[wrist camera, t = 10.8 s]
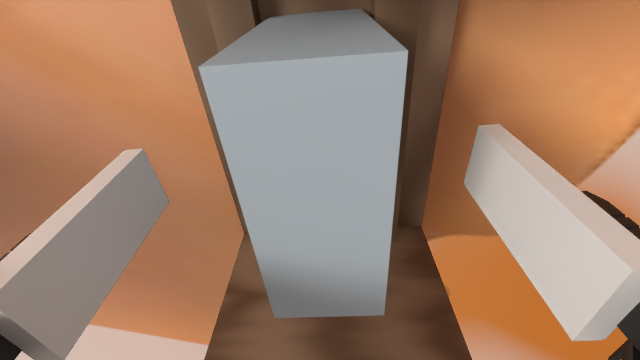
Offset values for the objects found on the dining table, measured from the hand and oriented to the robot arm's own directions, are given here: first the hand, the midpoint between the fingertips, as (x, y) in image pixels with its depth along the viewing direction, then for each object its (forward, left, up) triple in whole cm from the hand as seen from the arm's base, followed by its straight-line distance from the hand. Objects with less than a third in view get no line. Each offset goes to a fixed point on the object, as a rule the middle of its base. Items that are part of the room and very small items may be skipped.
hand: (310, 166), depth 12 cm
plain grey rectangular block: (0, 0, -6) cm, 7 cm away
